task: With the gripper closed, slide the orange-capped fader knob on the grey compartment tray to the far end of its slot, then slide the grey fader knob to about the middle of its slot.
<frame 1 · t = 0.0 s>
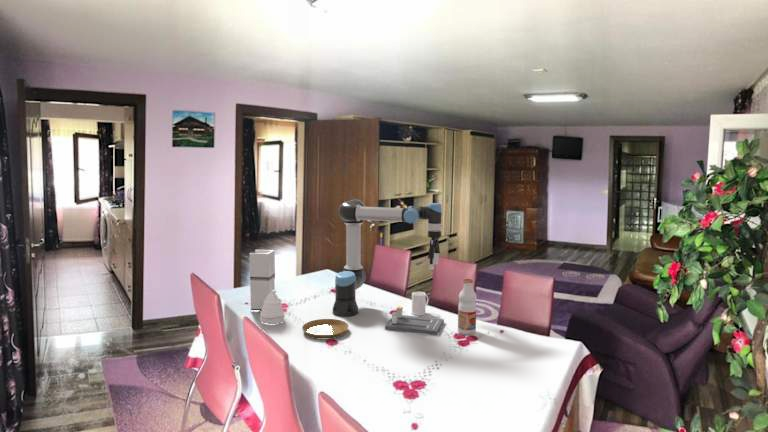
hand: (433, 266, 302), 28 cm above the table, fingers open, 13 cm apart
honey pot: (272, 321, 291), on the table
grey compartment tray: (414, 326, 285), on the table
fader 2: (394, 317, 283), point 5 cm above the table, slide at 0.0 cm
fader 1: (399, 312, 292), point 5 cm above the table, slide at 0.0 cm
plant saucer: (325, 332, 275), on the table
mug: (420, 313, 308), on the table
tall grey box: (263, 310, 311), on the table
fruit juice: (466, 332, 277), on the table
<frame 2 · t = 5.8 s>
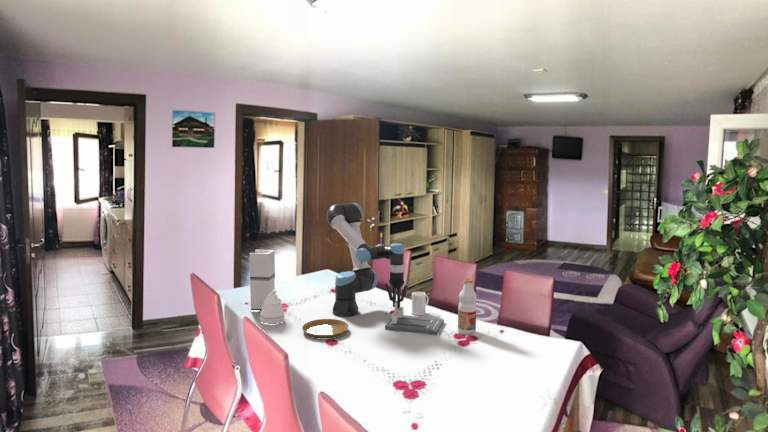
hand: (396, 313, 292), 5 cm above the table, fingers closed
fader 1: (400, 312, 292), point 5 cm above the table, slide at 0.4 cm, touching gripper
everything else where it was.
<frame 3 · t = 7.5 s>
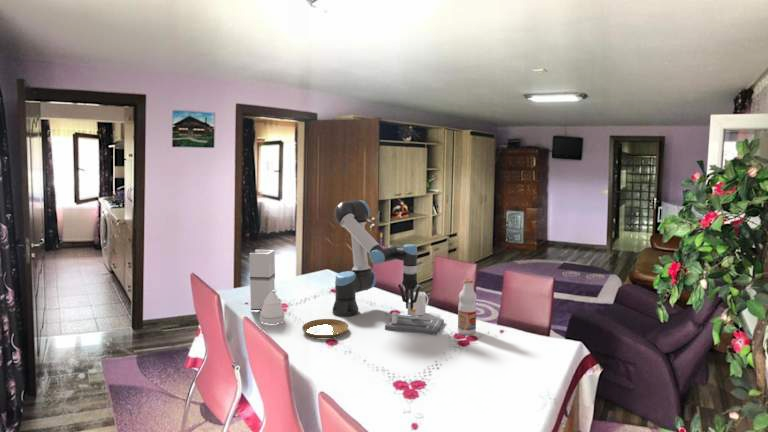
hand: (409, 314, 290), 5 cm above the table, fingers closed
fader 1: (413, 313, 290), point 5 cm above the table, slide at 7.8 cm, touching gripper
everything else where it was.
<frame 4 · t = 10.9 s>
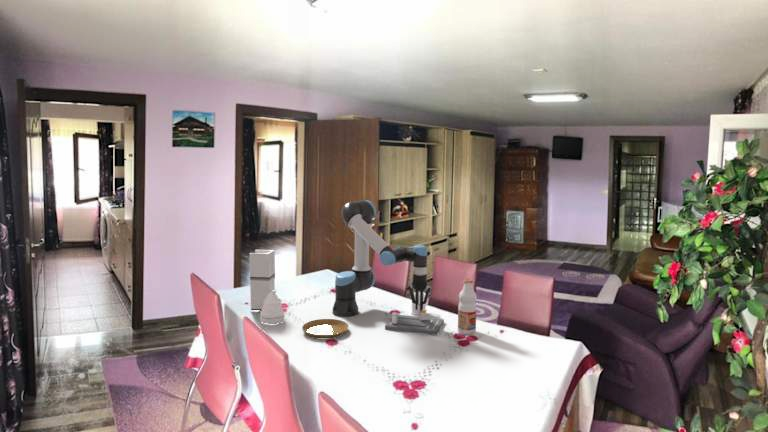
hand: (419, 315, 289), 4 cm above the table, fingers closed
fader 1: (423, 314, 288), point 5 cm above the table, slide at 13.5 cm, touching gripper
everything else where it was.
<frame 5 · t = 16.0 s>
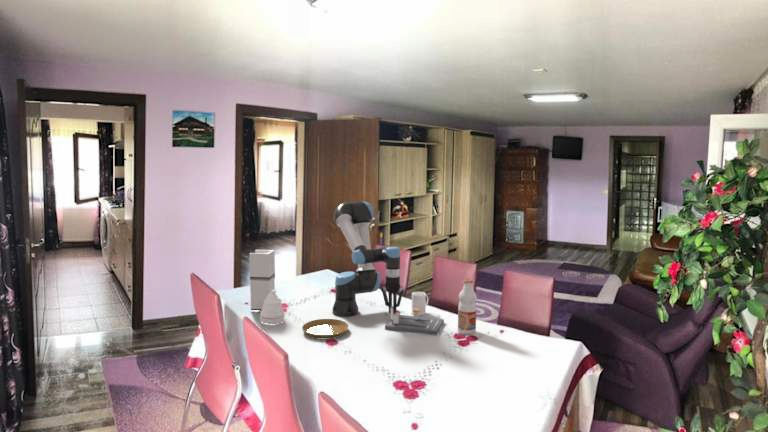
hand: (392, 318, 283), 5 cm above the table, fingers closed
fader 2: (396, 318, 282), point 5 cm above the table, slide at 0.9 cm, touching gripper
fader 1: (416, 314, 289), point 5 cm above the table, slide at 9.6 cm
everything else where it was.
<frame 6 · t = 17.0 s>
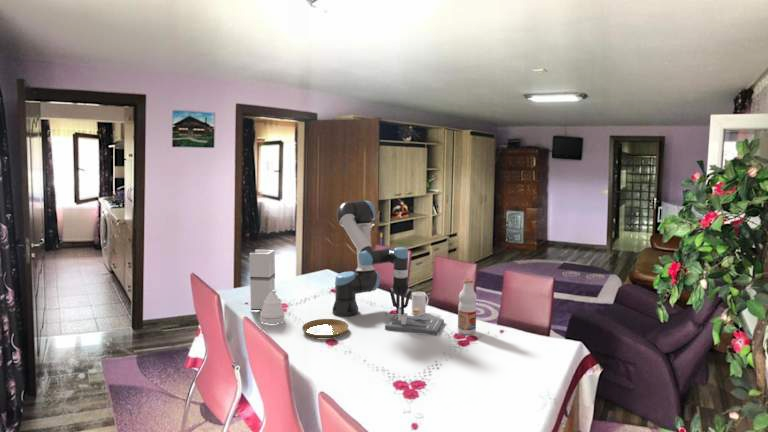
hand: (400, 319, 282), 5 cm above the table, fingers closed
fader 2: (404, 318, 281), point 5 cm above the table, slide at 5.2 cm, touching gripper
everything else where it was.
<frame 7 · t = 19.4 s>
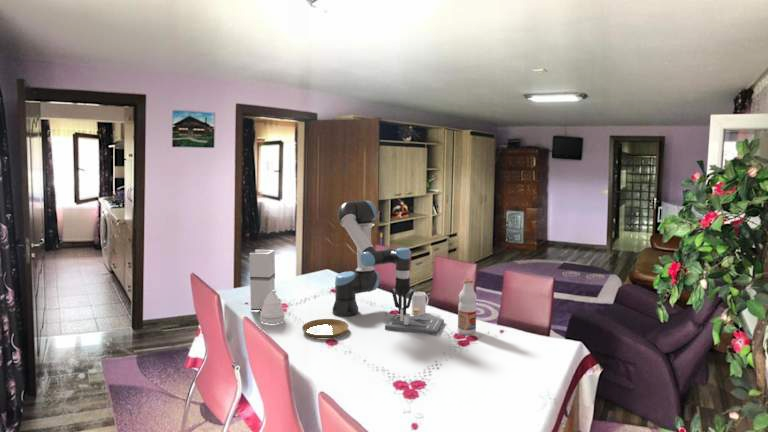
hand: (402, 320, 281), 4 cm above the table, fingers closed
fader 2: (406, 319, 281), point 5 cm above the table, slide at 6.5 cm, touching gripper
everything else where it was.
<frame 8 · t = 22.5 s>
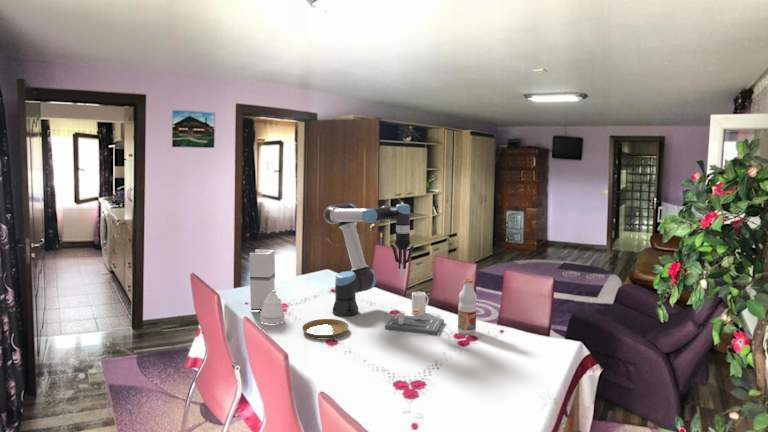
hand: (402, 274, 290), 26 cm above the table, fingers closed
fader 2: (401, 318, 281), point 5 cm above the table, slide at 3.6 cm
everything else where it was.
at the end: fader 1 slide at 9.6 cm; fader 2 slide at 3.6 cm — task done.
